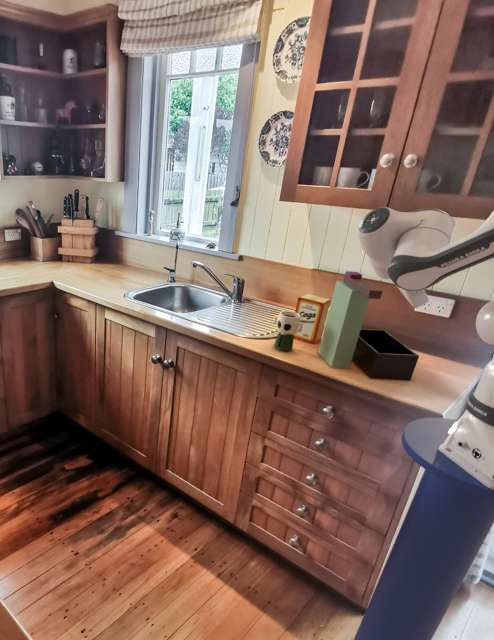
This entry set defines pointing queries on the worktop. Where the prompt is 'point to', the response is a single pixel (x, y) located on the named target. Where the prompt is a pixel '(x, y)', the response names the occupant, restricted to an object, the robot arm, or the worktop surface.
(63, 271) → the worktop surface
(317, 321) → the baking soda box
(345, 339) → the green box
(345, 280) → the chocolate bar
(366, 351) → the trash bin
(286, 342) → the character mug
